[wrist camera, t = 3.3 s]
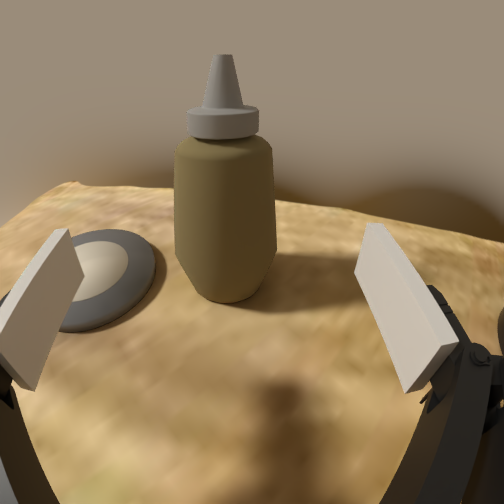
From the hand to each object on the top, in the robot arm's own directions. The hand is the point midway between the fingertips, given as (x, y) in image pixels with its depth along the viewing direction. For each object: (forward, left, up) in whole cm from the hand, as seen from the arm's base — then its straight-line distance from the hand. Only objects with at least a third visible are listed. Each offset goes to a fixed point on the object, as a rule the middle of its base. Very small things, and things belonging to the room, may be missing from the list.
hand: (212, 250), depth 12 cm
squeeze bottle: (+9, -3, -10) cm, 14 cm away
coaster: (+13, +10, -10) cm, 19 cm away
